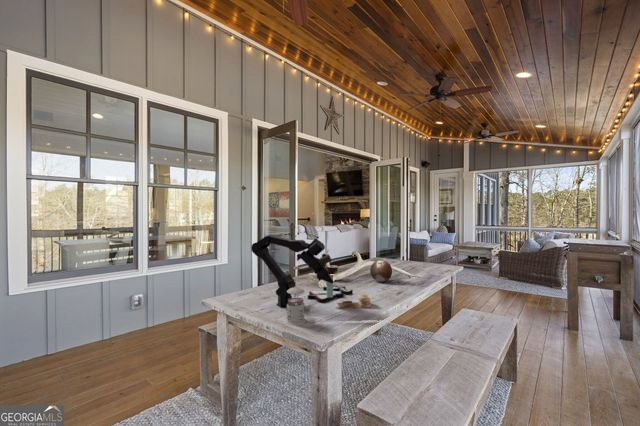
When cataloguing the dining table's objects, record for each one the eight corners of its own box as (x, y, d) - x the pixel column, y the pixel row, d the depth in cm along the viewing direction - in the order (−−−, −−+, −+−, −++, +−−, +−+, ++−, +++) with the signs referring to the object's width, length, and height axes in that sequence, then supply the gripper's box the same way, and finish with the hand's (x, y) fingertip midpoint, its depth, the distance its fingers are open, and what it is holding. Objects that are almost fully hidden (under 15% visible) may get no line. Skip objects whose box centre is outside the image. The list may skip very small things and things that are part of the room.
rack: (339, 311, 152) (339, 300, 152) (337, 305, 162) (337, 294, 162) (371, 310, 153) (371, 299, 153) (366, 304, 163) (366, 293, 163)
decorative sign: (356, 288, 183) (325, 300, 160) (356, 294, 183) (325, 307, 160) (331, 283, 194) (299, 294, 171) (331, 289, 194) (299, 300, 171)
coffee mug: (329, 282, 211) (329, 268, 210) (323, 279, 218) (323, 265, 218) (343, 280, 216) (343, 266, 216) (337, 278, 224) (337, 264, 224)
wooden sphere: (370, 283, 207) (370, 261, 207) (369, 278, 222) (369, 258, 222) (393, 284, 205) (393, 262, 205) (391, 279, 220) (391, 258, 220)
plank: (327, 297, 155) (327, 275, 155) (326, 296, 158) (326, 274, 157) (333, 297, 155) (333, 275, 155) (332, 296, 158) (332, 274, 158)
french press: (284, 325, 134) (284, 268, 133) (285, 316, 145) (285, 263, 145) (306, 325, 134) (306, 268, 134) (306, 315, 146) (306, 263, 145)
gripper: (324, 252, 146) (346, 274, 147) (320, 246, 165) (340, 267, 166) (307, 268, 146) (330, 291, 147) (306, 261, 164) (326, 281, 166)
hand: (332, 281), depth 156 cm, fingers closed on plank, 2 cm apart
